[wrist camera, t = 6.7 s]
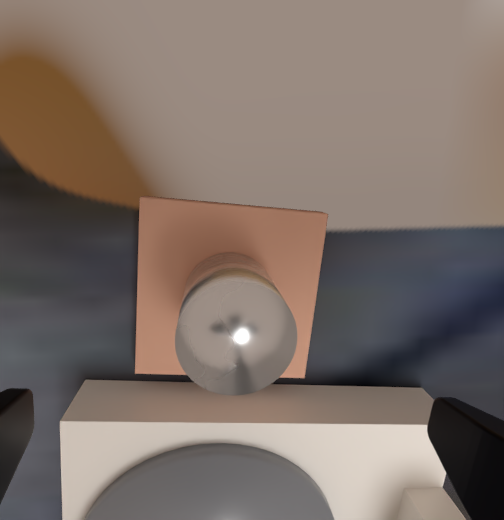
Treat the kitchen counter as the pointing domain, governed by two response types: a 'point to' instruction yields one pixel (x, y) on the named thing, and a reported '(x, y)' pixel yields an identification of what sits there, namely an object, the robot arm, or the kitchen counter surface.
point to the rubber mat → (215, 242)
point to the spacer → (234, 326)
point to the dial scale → (250, 454)
